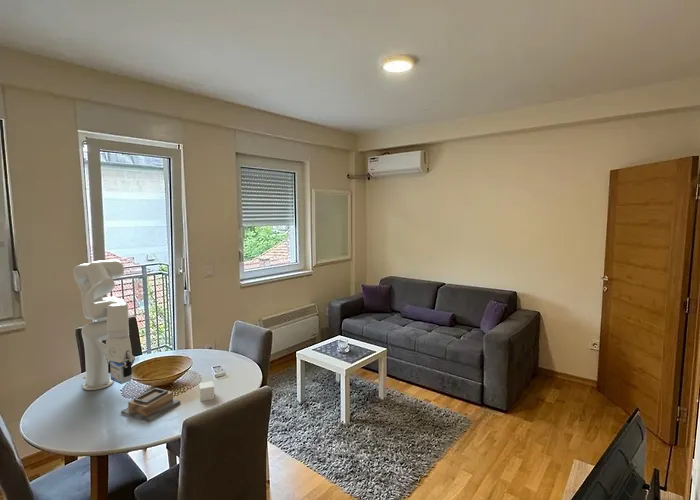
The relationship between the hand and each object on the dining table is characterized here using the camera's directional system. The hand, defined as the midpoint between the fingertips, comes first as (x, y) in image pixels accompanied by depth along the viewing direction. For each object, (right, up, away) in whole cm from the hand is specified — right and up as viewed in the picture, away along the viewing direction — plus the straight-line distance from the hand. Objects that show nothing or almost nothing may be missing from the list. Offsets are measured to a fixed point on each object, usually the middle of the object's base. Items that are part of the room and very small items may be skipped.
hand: (120, 373), depth 155 cm
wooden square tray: (+9, -18, +8) cm, 21 cm away
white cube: (+29, -17, +18) cm, 38 cm away
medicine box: (0, -3, +1) cm, 3 cm away
